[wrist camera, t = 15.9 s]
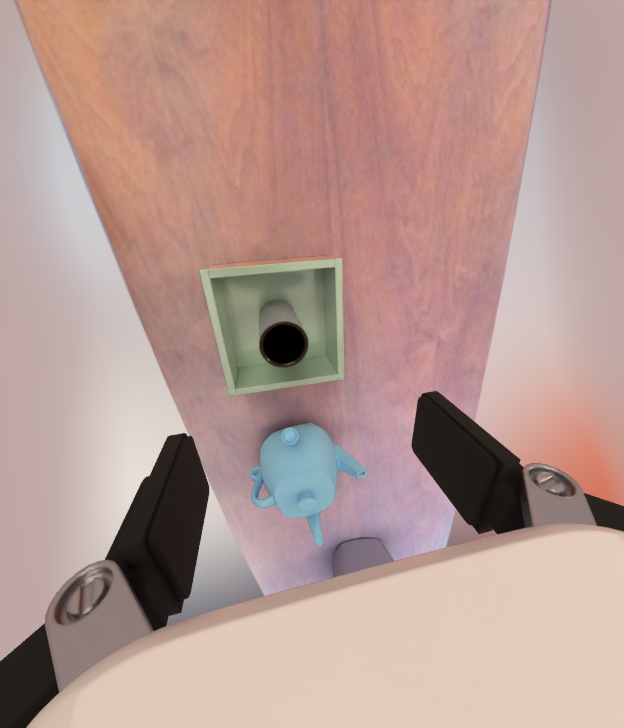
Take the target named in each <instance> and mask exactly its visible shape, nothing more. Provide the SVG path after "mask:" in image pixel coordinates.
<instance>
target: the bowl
mask: <svg viewBox="0 0 624 728" xmlns="http://www.w3.org/2000/svg"><path fill="white" fill-rule="evenodd" d="M393 561H394V560H393V559H392V557H391V556H390V554H389V553H388V551H387V550H386V548H385V547H384V545H383V544H382V542H381V541H380V540H379V539H372V538H364V539H356V540H351V541H347V542H344V543H342V544H341V545H340V546H339V547H338V548H337V550H336V552H335V554H334V556H333V561H332V562H333V578H334V577H337V576H341V575H345V574H348V573H352V572H356V571H360V570H363V569H367V568H371V567H375V566H378V565H382V564H386V563H390V562H393Z"/></svg>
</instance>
